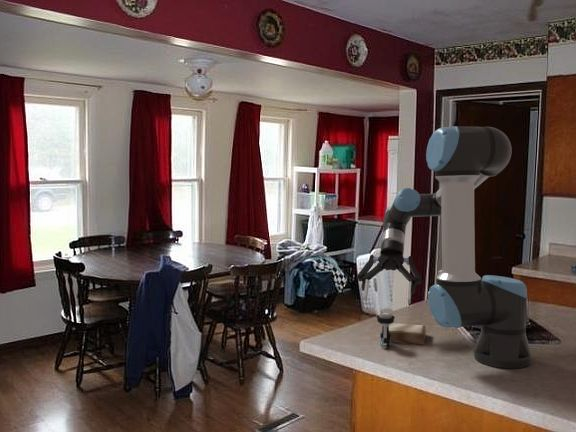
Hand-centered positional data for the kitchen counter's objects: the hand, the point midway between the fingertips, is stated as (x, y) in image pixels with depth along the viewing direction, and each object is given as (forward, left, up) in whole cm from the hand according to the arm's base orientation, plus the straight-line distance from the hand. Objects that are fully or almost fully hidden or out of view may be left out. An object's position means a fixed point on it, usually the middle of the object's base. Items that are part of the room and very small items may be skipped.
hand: (386, 300), depth 180 cm
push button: (-1, +8, -12) cm, 15 cm away
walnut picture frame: (-6, -2, -12) cm, 14 cm away
